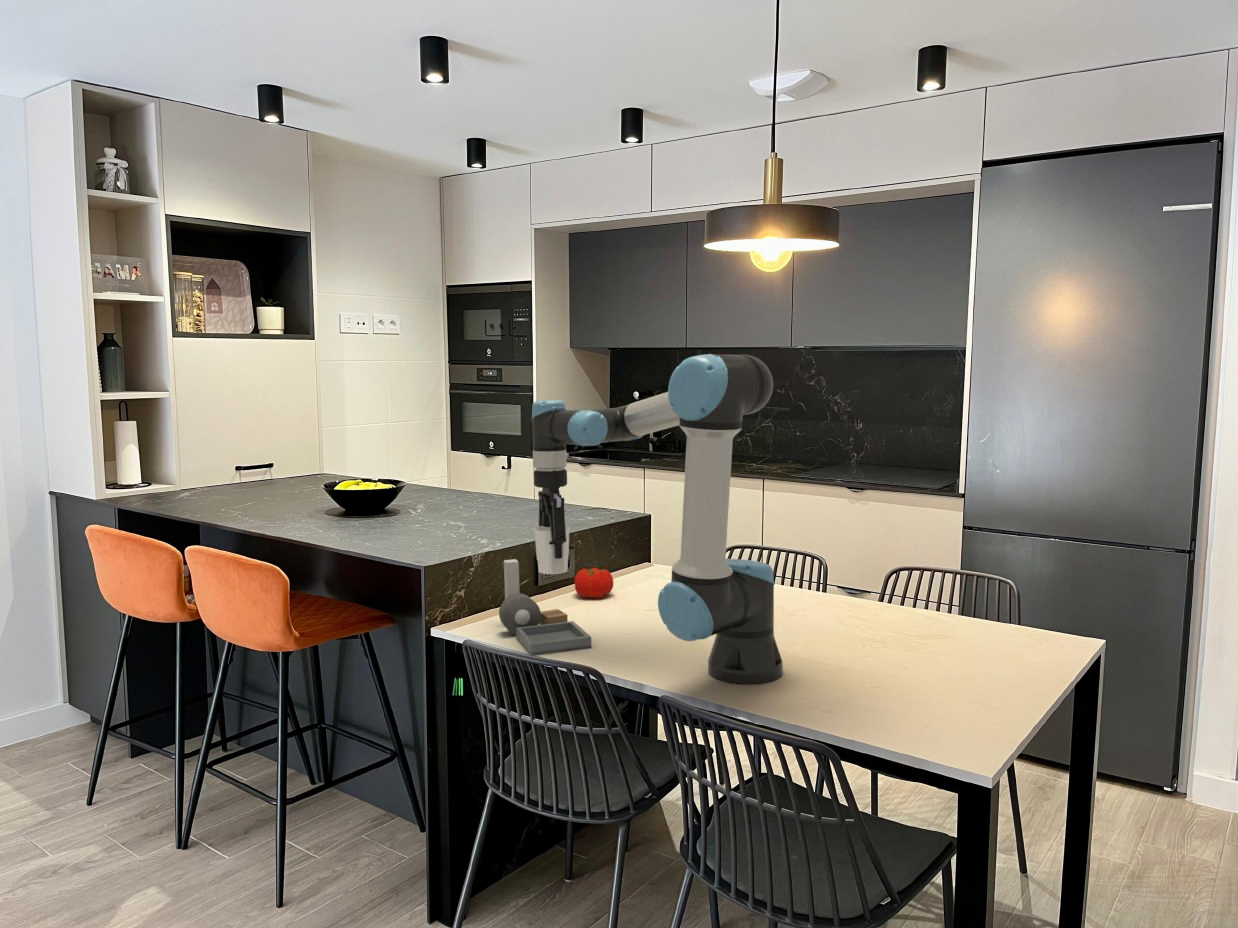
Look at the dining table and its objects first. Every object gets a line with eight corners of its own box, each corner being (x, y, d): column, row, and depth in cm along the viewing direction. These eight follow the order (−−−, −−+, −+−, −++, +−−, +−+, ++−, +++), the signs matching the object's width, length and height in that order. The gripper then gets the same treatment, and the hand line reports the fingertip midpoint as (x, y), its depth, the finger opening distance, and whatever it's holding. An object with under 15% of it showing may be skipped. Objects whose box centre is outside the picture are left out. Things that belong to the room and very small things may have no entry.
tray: (591, 647, 204) (591, 636, 204) (531, 655, 199) (530, 644, 199) (573, 631, 217) (573, 620, 217) (516, 638, 212) (515, 627, 212)
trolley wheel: (541, 633, 216) (539, 567, 214) (504, 637, 213) (502, 571, 211) (529, 620, 227) (527, 558, 225) (494, 625, 224) (491, 561, 222)
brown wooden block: (567, 630, 218) (567, 614, 218) (548, 633, 216) (548, 617, 216) (558, 624, 224) (557, 608, 223) (539, 627, 221) (538, 611, 221)
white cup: (572, 567, 210) (571, 524, 209) (567, 575, 202) (566, 531, 201) (539, 567, 211) (538, 524, 210) (532, 575, 203) (531, 531, 202)
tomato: (620, 594, 252) (619, 567, 251) (598, 603, 243) (598, 575, 242) (588, 589, 258) (588, 563, 257) (566, 598, 248) (565, 571, 248)
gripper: (579, 472, 196) (581, 576, 198) (554, 463, 215) (556, 558, 218) (545, 474, 193) (548, 579, 196) (523, 465, 213) (526, 560, 215)
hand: (552, 568), depth 207 cm, fingers closed on white cup, 7 cm apart
